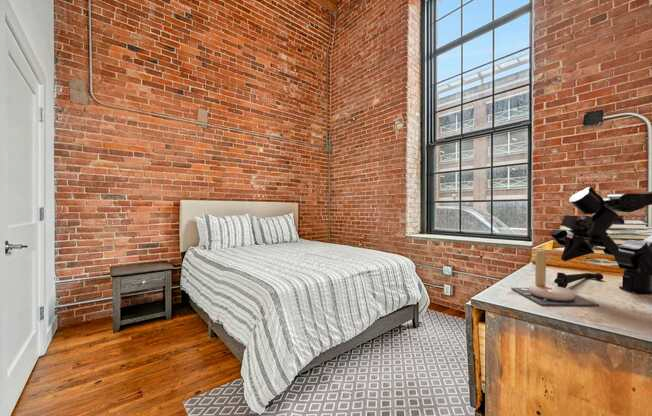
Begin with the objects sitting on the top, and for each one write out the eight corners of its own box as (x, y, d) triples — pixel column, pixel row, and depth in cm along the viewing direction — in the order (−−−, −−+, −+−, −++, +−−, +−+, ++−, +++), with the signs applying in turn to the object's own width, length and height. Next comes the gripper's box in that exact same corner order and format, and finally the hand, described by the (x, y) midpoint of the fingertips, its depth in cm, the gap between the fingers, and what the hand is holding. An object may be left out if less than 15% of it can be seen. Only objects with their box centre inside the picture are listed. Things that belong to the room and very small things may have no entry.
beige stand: (557, 288, 94) (558, 249, 94) (585, 300, 83) (586, 256, 83) (521, 288, 95) (521, 249, 95) (544, 300, 84) (544, 256, 84)
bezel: (559, 289, 96) (559, 286, 96) (599, 306, 81) (599, 303, 81) (510, 289, 97) (510, 286, 97) (540, 305, 82) (540, 302, 82)
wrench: (604, 285, 106) (572, 292, 90) (586, 282, 110) (552, 289, 94) (604, 270, 106) (572, 275, 90) (585, 268, 111) (552, 272, 94)
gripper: (555, 205, 103) (524, 238, 102) (611, 207, 84) (573, 247, 84) (576, 228, 103) (545, 260, 103) (636, 235, 85) (598, 274, 84)
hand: (562, 260), depth 93 cm, fingers closed
